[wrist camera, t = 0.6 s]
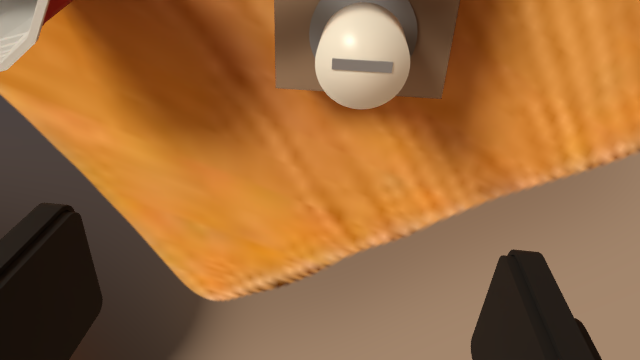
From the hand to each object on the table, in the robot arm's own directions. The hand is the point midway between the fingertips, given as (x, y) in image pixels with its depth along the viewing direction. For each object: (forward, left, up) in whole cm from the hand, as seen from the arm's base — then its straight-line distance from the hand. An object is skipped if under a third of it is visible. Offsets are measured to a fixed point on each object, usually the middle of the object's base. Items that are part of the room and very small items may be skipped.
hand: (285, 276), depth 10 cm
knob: (-1, +2, -17) cm, 17 cm away
